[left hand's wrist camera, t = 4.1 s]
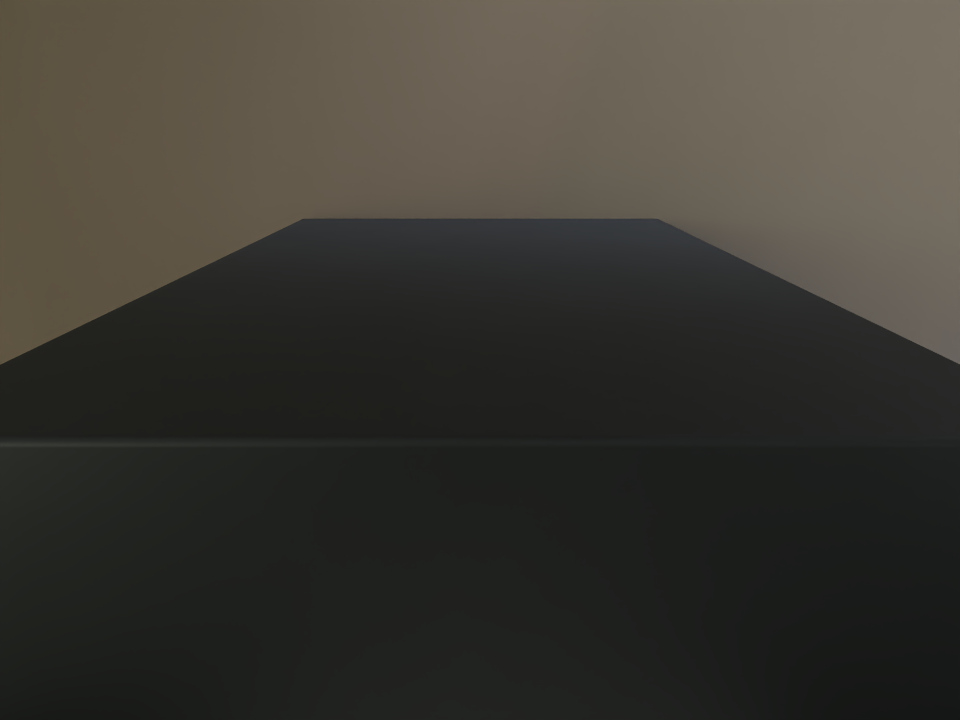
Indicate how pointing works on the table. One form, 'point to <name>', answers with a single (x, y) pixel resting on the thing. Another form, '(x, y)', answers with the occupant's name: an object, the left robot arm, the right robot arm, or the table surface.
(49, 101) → the table surface
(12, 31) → the table surface
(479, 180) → the table surface
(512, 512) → the box
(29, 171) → the table surface
